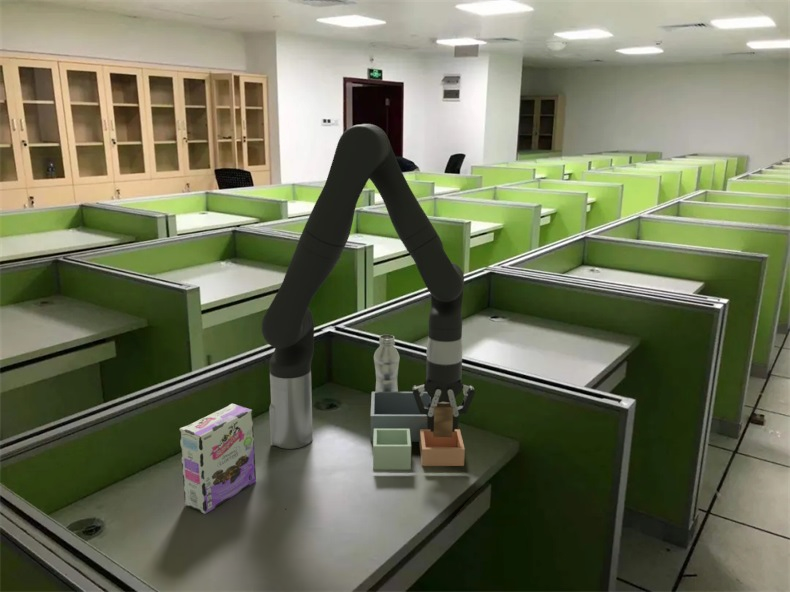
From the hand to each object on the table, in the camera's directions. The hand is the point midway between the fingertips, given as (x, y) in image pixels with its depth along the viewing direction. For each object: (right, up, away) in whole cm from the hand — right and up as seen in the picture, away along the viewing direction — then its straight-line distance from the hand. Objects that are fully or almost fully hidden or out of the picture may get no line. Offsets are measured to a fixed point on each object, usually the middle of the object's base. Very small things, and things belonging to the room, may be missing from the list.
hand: (442, 429), depth 137 cm
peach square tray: (0, -7, +2) cm, 7 cm away
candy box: (-45, -10, -13) cm, 48 cm away
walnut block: (0, -1, 0) cm, 1 cm away
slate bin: (-7, -3, +14) cm, 16 cm away
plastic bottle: (-13, 0, +25) cm, 28 cm away
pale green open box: (-11, -7, 0) cm, 13 cm away
